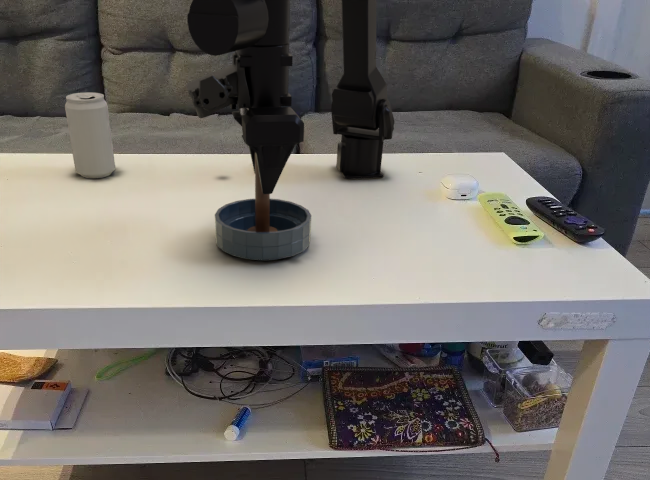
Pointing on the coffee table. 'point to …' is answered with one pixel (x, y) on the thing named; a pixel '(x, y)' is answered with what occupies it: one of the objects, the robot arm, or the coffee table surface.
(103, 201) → the coffee table surface
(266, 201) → the rod
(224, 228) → the bowl
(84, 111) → the beverage can
